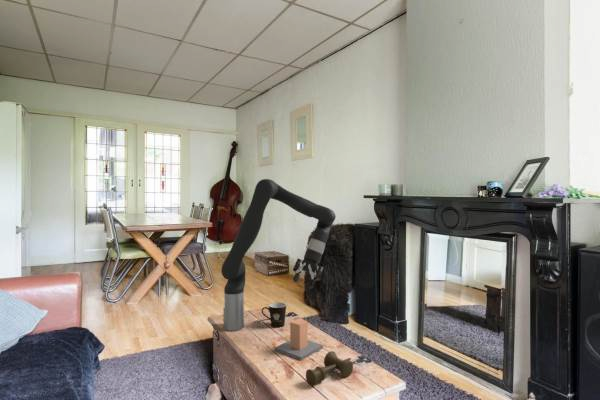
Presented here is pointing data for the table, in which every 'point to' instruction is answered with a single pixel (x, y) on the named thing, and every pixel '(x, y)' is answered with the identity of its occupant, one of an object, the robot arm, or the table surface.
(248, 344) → the table surface
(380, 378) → the table surface
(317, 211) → the robot arm
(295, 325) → the terracotta block
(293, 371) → the table surface
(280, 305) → the coffee mug
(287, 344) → the slate tile
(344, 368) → the kendama
